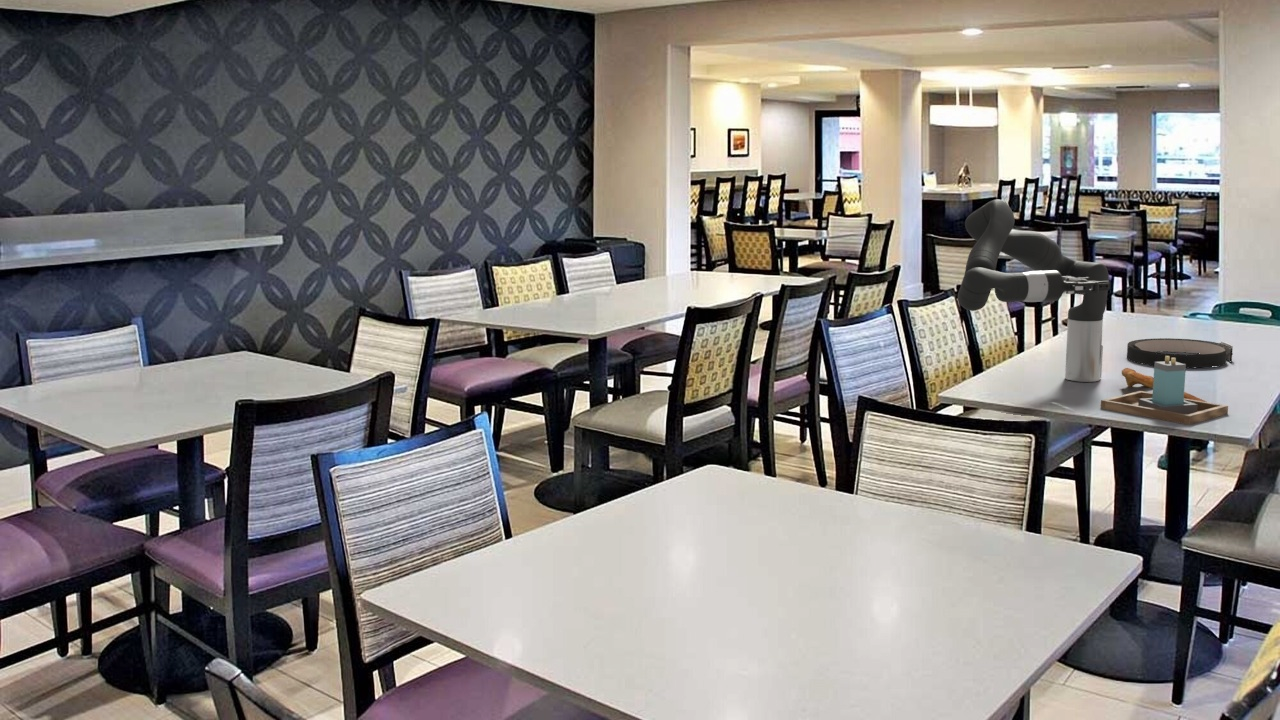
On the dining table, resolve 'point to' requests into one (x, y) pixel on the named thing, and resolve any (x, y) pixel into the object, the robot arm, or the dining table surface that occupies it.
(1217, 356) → the belt
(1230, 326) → the dining table surface
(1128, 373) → the bone
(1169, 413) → the walled box
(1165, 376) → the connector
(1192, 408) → the socket
